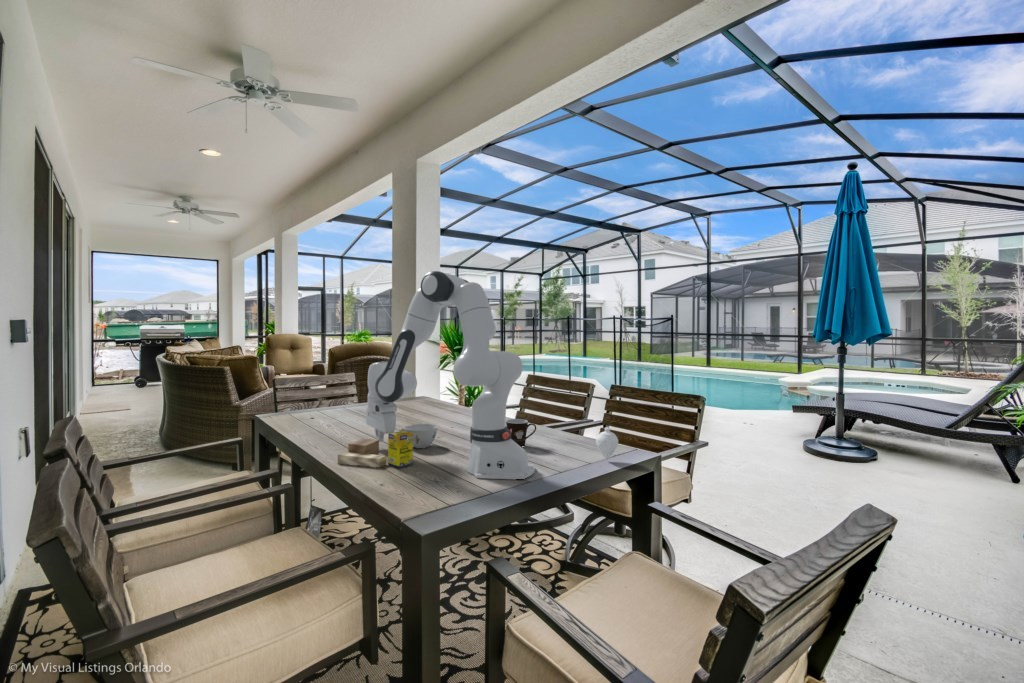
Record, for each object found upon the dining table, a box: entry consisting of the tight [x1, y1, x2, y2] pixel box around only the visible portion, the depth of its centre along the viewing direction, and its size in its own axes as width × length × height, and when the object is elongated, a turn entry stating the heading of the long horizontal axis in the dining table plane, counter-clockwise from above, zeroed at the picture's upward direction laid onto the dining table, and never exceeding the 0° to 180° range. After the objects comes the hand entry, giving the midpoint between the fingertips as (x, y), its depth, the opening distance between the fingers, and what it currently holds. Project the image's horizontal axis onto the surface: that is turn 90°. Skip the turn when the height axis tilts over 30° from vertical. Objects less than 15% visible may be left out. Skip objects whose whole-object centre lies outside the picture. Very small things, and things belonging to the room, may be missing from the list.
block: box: [347, 438, 380, 455], centre depth 165 cm, size 7×8×6 cm
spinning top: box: [595, 427, 619, 460], centre depth 164 cm, size 8×8×12 cm
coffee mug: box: [505, 418, 537, 447], centre depth 183 cm, size 12×9×10 cm
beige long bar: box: [337, 451, 387, 468], centre depth 159 cm, size 16×4×3 cm, turn 75°
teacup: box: [399, 423, 439, 449], centre depth 182 cm, size 15×12×8 cm
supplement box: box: [387, 430, 414, 469], centre depth 158 cm, size 6×6×11 cm
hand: (379, 440), depth 175 cm, fingers closed
